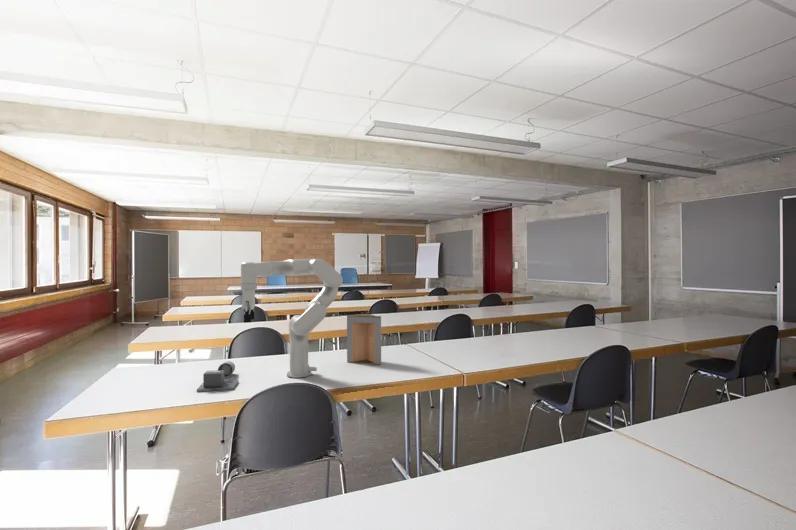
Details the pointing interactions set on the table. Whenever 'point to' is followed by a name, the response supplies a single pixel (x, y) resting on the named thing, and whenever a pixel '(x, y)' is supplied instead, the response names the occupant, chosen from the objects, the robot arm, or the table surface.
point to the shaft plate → (226, 386)
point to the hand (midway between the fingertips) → (249, 320)
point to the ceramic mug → (227, 368)
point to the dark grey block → (213, 378)
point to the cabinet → (364, 339)
